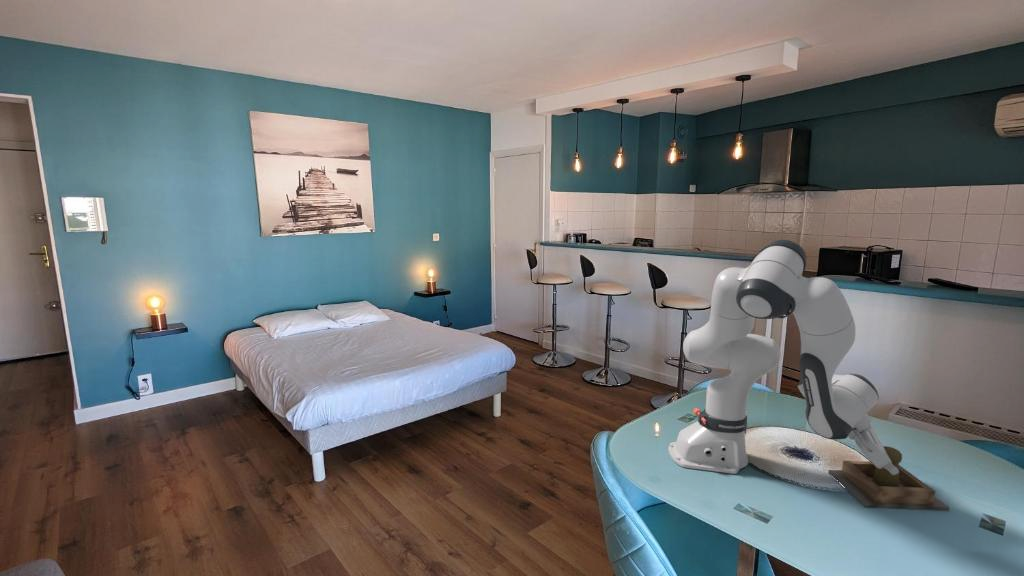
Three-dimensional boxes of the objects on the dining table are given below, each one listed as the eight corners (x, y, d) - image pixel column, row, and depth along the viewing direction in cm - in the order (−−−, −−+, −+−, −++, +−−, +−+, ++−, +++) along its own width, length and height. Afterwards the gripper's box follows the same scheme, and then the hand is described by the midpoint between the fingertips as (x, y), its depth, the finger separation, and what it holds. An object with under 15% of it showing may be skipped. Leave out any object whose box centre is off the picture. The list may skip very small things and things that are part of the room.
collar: (864, 507, 121) (866, 491, 120) (828, 473, 137) (829, 458, 136) (948, 510, 120) (951, 494, 119) (902, 475, 136) (904, 460, 135)
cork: (901, 496, 124) (906, 456, 122) (872, 489, 127) (877, 450, 125) (897, 485, 129) (903, 447, 127) (869, 478, 132) (874, 441, 131)
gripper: (870, 432, 119) (914, 477, 116) (854, 402, 137) (892, 441, 134) (846, 444, 122) (889, 490, 119) (834, 413, 140) (871, 452, 137)
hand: (891, 463), depth 127 cm, fingers open, 8 cm apart
